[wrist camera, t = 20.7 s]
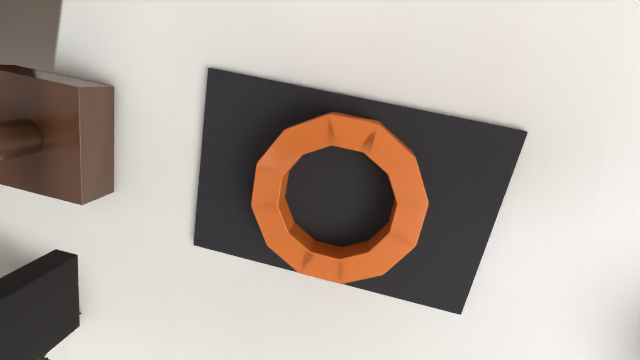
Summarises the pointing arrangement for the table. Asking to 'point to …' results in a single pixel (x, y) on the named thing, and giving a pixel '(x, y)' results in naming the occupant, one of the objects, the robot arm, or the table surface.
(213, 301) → the table surface
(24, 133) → the post
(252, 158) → the mat
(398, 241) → the ring
